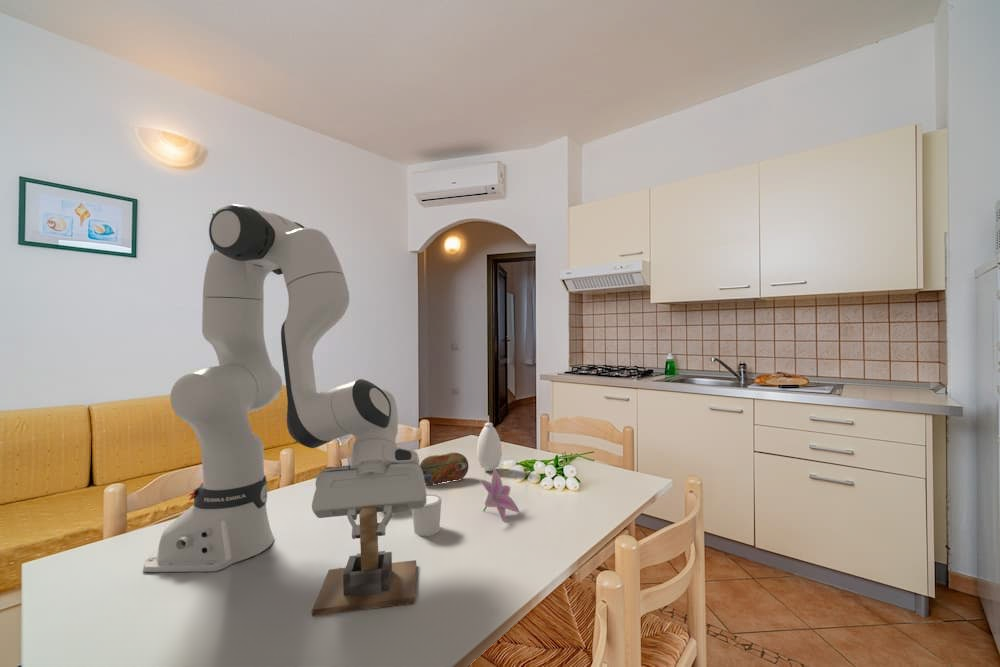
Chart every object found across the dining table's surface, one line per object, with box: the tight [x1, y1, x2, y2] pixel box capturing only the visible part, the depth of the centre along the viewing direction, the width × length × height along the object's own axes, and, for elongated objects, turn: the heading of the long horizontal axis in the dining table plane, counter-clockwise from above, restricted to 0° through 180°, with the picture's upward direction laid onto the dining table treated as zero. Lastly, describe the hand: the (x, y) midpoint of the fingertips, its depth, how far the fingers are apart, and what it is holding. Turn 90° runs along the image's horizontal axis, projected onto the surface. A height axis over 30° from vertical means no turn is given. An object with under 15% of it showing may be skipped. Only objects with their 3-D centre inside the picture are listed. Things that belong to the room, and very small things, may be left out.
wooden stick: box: [358, 507, 379, 571], centre depth 76 cm, size 3×3×10 cm
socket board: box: [311, 550, 417, 617], centre depth 76 cm, size 16×12×4 cm
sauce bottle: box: [476, 415, 503, 472], centre depth 140 cm, size 8×8×18 cm
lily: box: [479, 468, 520, 522], centre depth 107 cm, size 12×12×10 cm
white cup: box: [411, 493, 442, 537], centre depth 99 cm, size 7×7×7 cm
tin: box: [419, 452, 469, 486], centre depth 131 cm, size 15×3×8 cm, turn 114°
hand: (368, 536), depth 76 cm, fingers closed on wooden stick, 3 cm apart
